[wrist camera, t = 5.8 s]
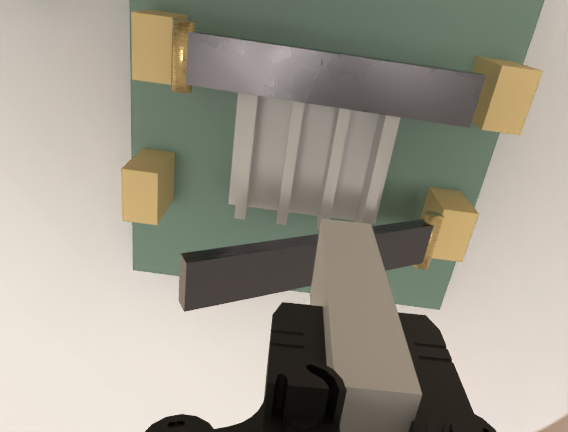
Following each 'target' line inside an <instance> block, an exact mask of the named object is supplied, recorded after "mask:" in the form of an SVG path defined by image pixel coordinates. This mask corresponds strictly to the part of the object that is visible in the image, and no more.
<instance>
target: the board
mask: <svg viewBox="0 0 568 432" xmlns="http://www.w3.org/2000/svg"><path fill="white" fill-rule="evenodd" d="M543 3H544V0H130V58H131V142H132V159H131V160H130V161H129V162H128V163H127V164H126V165H125V166H124V167H123V168H122V169H121V172H122V217H123V221H129V222H132V225H133V270H137V271H144V272H152V273H160V274H168V275H175V276H180V255H181V253H187V252H194V251H201V250H208V249H215V248H222V247H229V246H236V245H243V244H250V243H257V242H264V241H271V240H278V239H286V238H293V237H300V236H307V235H314V234H319V230H320V223H321V219H328V220H338V221H348V222H358V223H367V224H371V225H372V226H377V225H384V224H391V223H399V222H406V221H413V220H420V219H424V216H425V213H426V212H427V211H434V212H438V213H440V214H442V215H443V216H444V219H443V222H442V226H441V229H440V232H439V235H438V239H437V242H436V245H435V248H434V251H433V255H432V258H431V261H430V264H429V267H428V269H425V270H422V269H418V268H415V267H414V266H407V267H402V268H397V269H392V270H387V271H385V272H386V275H387V279H388V282H389V285H390V289H391V292H392V295H393V299H394V302H395V304H400V305H408V306H415V307H423V308H431V309H439V310H440V307H441V304H442V301H443V298H444V295H445V292H446V289H447V286H448V284H449V281H450V278H451V275H452V272H453V269H454V266H455V263H456V261H457V262H462V261H463V258H464V255H465V252H466V249H467V247H468V244H469V241H470V238H471V235H472V232H473V229H474V226H475V223H476V221H477V218H478V215H479V214H478V212H477V211H476V210H475V209H474V207H475V204H476V201H477V198H478V195H479V192H480V189H481V186H482V183H483V180H484V177H485V174H486V171H487V168H488V166H489V163H490V160H491V157H492V154H493V151H494V148H495V145H496V142H497V139H498V136H499V133H500V132H501V133H508V134H515V135H520V133H521V131H522V128H523V125H524V122H525V119H526V117H527V114H528V111H529V108H530V106H531V103H532V100H533V97H534V94H535V92H536V89H537V86H538V83H539V80H540V78H541V75H542V72H543V71H541V70H537V69H534V68H531V67H528V66H525V65H523V62H524V59H525V56H526V53H527V51H528V48H529V45H530V42H531V39H532V36H533V33H534V30H535V27H536V24H537V21H538V18H539V15H540V12H541V9H542V6H543ZM173 20H186V21H192V22H195V31H198V32H205V33H211V34H218V35H225V36H232V37H238V38H245V39H252V40H259V41H265V42H272V43H279V44H285V45H292V46H299V47H306V48H312V49H319V50H326V51H333V52H339V53H346V54H353V55H360V56H366V57H373V58H380V59H387V60H393V61H400V62H407V63H413V64H420V65H427V66H434V67H440V68H447V69H454V70H461V71H467V72H474V73H481V74H483V75H485V76H486V78H485V81H484V84H483V87H482V91H481V94H480V97H479V100H478V103H477V107H476V110H475V113H474V116H473V120H472V123H471V126H470V128H467V127H460V126H454V125H447V124H441V123H434V122H428V121H421V120H414V119H408V118H401V117H395V116H388V115H382V114H375V113H368V112H362V111H355V110H349V109H342V108H335V107H329V106H322V105H316V104H309V103H303V102H296V101H289V100H283V99H276V98H270V97H263V96H256V95H250V94H243V93H237V92H230V91H224V90H217V89H210V88H204V87H197V86H193V87H192V92H191V93H178V92H174V91H172V54H173ZM291 291H299V292H307V293H310V292H311V286H308V287H303V288H298V289H293V290H291Z"/></svg>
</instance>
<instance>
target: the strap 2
mask: <svg viewBox="0 0 568 432" xmlns="http://www.w3.org/2000/svg"><path fill="white" fill-rule="evenodd" d="M443 219H444V216H443V215H442V214H440V213H438V212H434V211H427V212H426V213H425V216H424V219H420V220H413V221H406V222H399V223H391V224H384V225H377V226H372V229H373V232H374V235H375V239H376V242H377V245H378V249H379V252H380V255H381V259H382V262H383V265H384V269H385V271H387V270H392V269H397V268H402V267H407V266H414V267H415V268H418V269H422V270H425V269H428V267H429V264H430V261H431V258H432V255H433V251H434V248H435V245H436V242H437V239H438V235H439V232H440V229H441V226H442V222H443ZM318 237H319V234H314V235H307V236H300V237H293V238H286V239H278V240H271V241H264V242H257V243H250V244H243V245H236V246H229V247H222V248H215V249H208V250H201V251H194V252H187V253H181V255H180V280H179V302H180V304H181V306H182V308H183V310H184V312H185V311H189V310H194V309H199V308H204V307H209V306H214V305H219V304H224V303H229V302H234V301H239V300H244V299H249V298H254V297H259V296H264V295H269V294H273V293H278V292H283V291H288V290H293V289H298V288H303V287H308V286H311V285H312V278H313V271H314V264H315V258H316V251H317V244H318Z"/></svg>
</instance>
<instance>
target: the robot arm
mask: <svg viewBox="0 0 568 432" xmlns="http://www.w3.org/2000/svg"><path fill="white" fill-rule="evenodd" d="M145 432H496V430H495V429H494V428H493V427H492V426H491V425H489V424H488V423H487V422H486V421H485V420H484V419H483V418H481V417H479V416H477V415H475V414H474V412H473V410H472V407H471V405H470V403H469V400H468V398H467V395H466V393H465V390H464V388H463V386H462V383H461V381H460V378H459V376H458V373H457V371H456V368H455V366H454V364H453V363H452V359H451V356H450V354H449V351H448V349H446V344H445V342H444V339H443V337H442V334H441V332H440V330H439V329H438V328H437V327H436V326H435V325H434V324H433V322H432V321H431V320H430V319H429V318H428V317H427V316H426V315H417V314H407V313H398V312H397V309H396V305H395V302H394V299H393V295H392V292H391V289H390V285H389V282H388V279H387V275H386V272H385V269H384V265H383V262H382V259H381V255H380V252H379V249H378V245H377V242H376V239H375V235H374V232H373V229H372V225H371V224H367V223H358V222H348V221H338V220H328V219H321V223H320V230H319V237H318V244H317V251H316V258H315V264H314V271H313V278H312V285H311V292H310V305H304V304H294V303H284V302H282V303H281V305H280V306H279V307H278V309H277V310H276V311H275V312H274V314H273V317H272V326H271V336H270V345H269V354H268V364H267V375H266V385H265V396H264V402H263V404H262V406H261V407H260V409H259V410H258V411H257V412H256V413H255V414H254V415H253V416H252V417H251V418H249V419H247V420H246V421H244V422H242V423H239V424H236V425H233V426H229V427H224V428H218V429H213V427H212V426H211V425H210V424H209V423H208V422H206V421H204V420H203V419H201V418H199V417H197V416H191V415H184V414H180V415H174V416H169V417H165V418H163V419H161V420H160V421H158V422H156V423H154V424H152V425H151V426H150V427H149V428H148V429H147V430H146V431H145Z"/></svg>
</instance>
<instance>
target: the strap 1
mask: <svg viewBox="0 0 568 432" xmlns="http://www.w3.org/2000/svg"><path fill="white" fill-rule="evenodd" d="M485 78H486V76H485V75H483V74H481V73H474V72H467V71H461V70H454V69H447V68H440V67H434V66H427V65H420V64H413V63H407V62H400V61H393V60H387V59H380V58H373V57H366V56H360V55H353V54H346V53H339V52H333V51H326V50H319V49H312V48H306V47H299V46H292V45H285V44H279V43H272V42H265V41H259V40H252V39H245V38H238V37H232V36H225V35H218V34H211V33H205V32H198V31H195V22H192V21H186V20H173V54H172V91H174V92H178V93H191V92H192V87H193V86H197V87H204V88H210V89H217V90H224V91H230V92H237V93H243V94H250V95H256V96H263V97H270V98H276V99H283V100H289V101H296V102H303V103H309V104H316V105H322V106H329V107H335V108H342V109H349V110H355V111H362V112H368V113H375V114H382V115H388V116H395V117H401V118H408V119H414V120H421V121H428V122H434V123H441V124H447V125H454V126H460V127H467V128H470V126H471V123H472V120H473V116H474V113H475V110H476V107H477V103H478V100H479V97H480V94H481V91H482V87H483V84H484V81H485Z"/></svg>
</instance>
